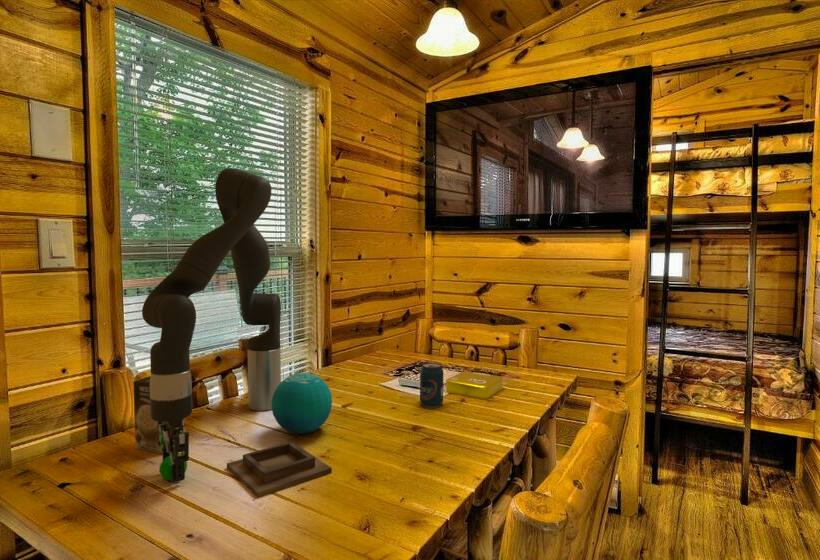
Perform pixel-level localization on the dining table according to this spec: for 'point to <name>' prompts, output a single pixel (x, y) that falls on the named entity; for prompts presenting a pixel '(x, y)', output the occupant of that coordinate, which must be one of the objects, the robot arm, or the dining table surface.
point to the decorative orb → (301, 403)
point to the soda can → (431, 385)
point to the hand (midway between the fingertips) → (173, 474)
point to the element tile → (474, 384)
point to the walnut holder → (277, 468)
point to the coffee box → (145, 418)
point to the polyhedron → (168, 468)
